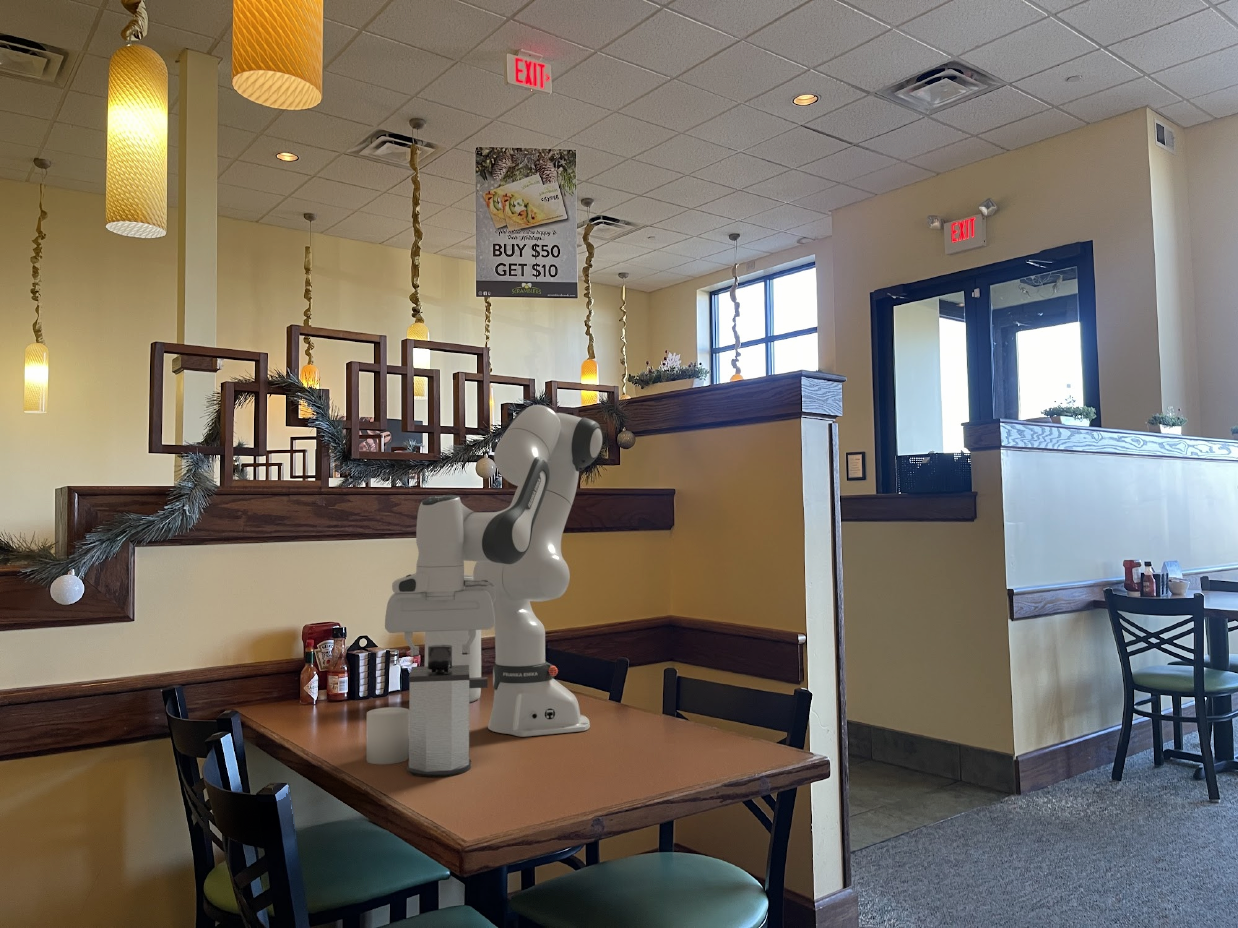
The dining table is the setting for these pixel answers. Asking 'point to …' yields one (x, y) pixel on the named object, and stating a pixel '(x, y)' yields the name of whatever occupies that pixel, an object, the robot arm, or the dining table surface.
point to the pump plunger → (439, 657)
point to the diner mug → (387, 735)
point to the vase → (459, 650)
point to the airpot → (440, 720)
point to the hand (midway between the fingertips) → (440, 655)
